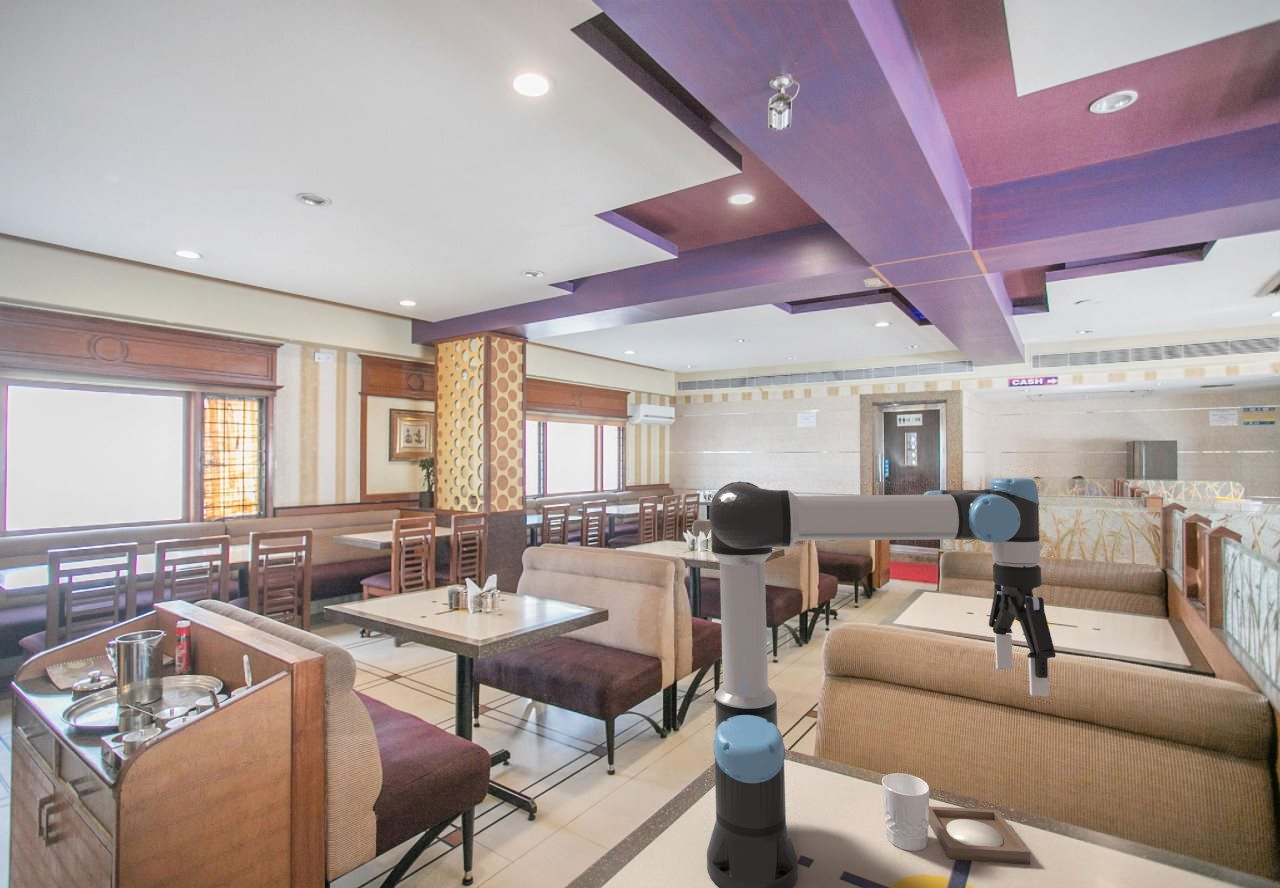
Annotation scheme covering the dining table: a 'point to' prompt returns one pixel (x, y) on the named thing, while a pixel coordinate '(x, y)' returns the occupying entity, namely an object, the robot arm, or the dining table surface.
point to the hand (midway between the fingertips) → (1020, 681)
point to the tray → (977, 835)
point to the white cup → (906, 811)
